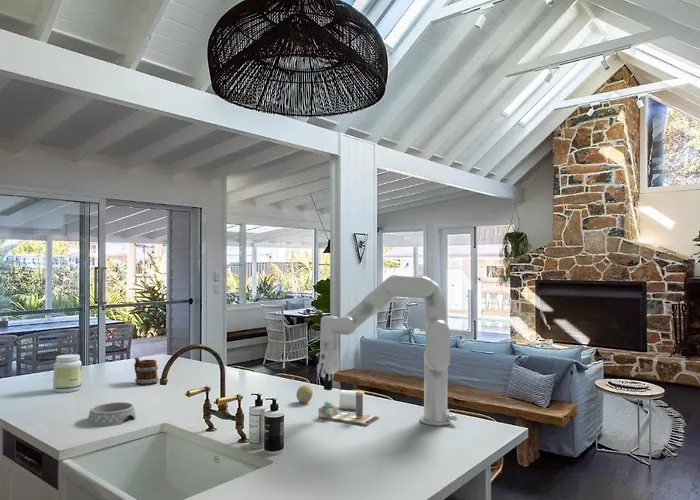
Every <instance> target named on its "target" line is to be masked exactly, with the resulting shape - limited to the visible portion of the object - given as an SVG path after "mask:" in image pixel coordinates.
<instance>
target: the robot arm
mask: <svg viewBox="0 0 700 500" xmlns="http://www.w3.org/2000/svg"><path fill="white" fill-rule="evenodd" d="M398 297H399V298H414V299H415V298H416V299H423V302H424V309H425V310H424V311H425V313H424V314H425V317H424V318H425V319H424V320H425V321H424V322H425V325H424V334H425V349H424V353H423V369H424V371H423V372H424V374H423V375H424V378H423V379H424V382H423V385H424V386H423V388H424V389H423V415H421V416H420V417H419V421H420V422H421V423H423V424H424V425H429V426H436V427H437V426H446V425H450V424H451V423H452V421H458V416H457V414H454V413H453V414H452V413H450V410H449V409H448V384H449V383H448V379H449V377H448V376H449V375H448V371H449V370H448V367H449V365H450V364H451V331H450V327H449V325H448V324H447V307H446V306H447V305H446V299H445V294H444V292H443V290H442V288H441V287H440V285H439V284H438V283H436V281H434V280H432V279H431V278H430V277H427V276H424V275H423V276H422V275H421V276H410V275H409V276H407V275H406V276H405V275H397V274H394V275H393V274H392V275H390V276H388V277H387V278H386V279H385V280H383V282H381V283H380V284H379V285H378V286H377V287H376V288H375V289H373V290H371V291H370V293H368V294H367V295H366V296H364V298H363V299H362V300H361V301H360V302H358V304H357V305H356V306H355V307H353V308H352V309H351V310H349V312H348V313H346V314H345V315H344V316H342V317H338V316H336V315H323V316H321V319H320V342H319V344H320V345H319V346H320V347H319V350H320V352H319V357H318V359H319V360H318V372H319V374H320V377H321V378H322V380H323V390H326V391H333V379H334V375H335V374H336V373H338V372H339V370H340V353H339V335H345V336H350V335H353V334H354V333H355V332H356V330H357V329H358V328H359V327H361V325H362V324H364V323H365V322H366V321H367V320H369V319H370V318H371V317H373V316H374V315H377V314H378V313H380V312H381V311H382V310H384V309H385V308H386V307H387V306H388V305H389V304H390V303H391V302H393V301H394V300H395V299H396V298H398Z"/></svg>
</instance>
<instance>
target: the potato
mask: <svg viewBox="0 0 700 500" xmlns="http://www.w3.org/2000/svg"><path fill="white" fill-rule="evenodd" d="M313 394H314V391H313V389H312V387H311V386H310V385H307V384H306V385H305V384H304V385H301V386H299V387H298V389H297V391H296V395H295V396H296V399H297V400H298V402H299V403H301V404H307V403H309V402H310V401H311V399H312V397H313V396H314V395H313Z"/></svg>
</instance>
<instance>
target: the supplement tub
mask: <svg viewBox="0 0 700 500" xmlns="http://www.w3.org/2000/svg"><path fill="white" fill-rule="evenodd" d="M80 355H81V354H73V353H72V354H68V353H67V354H60V355H57V356H56V357H55V362H54V363H53V380H52V381H53V382H52V383H53V387H52V390H53V392H55V393H59V394H60V393H62V394H63V393H72V392H76V391H77V392H78V391H79V390H81V388H82V369H83V368H82V361H81V356H80Z"/></svg>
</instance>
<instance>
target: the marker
mask: <svg viewBox="0 0 700 500" xmlns="http://www.w3.org/2000/svg"><path fill="white" fill-rule="evenodd" d="M363 392H364V391H363ZM363 392H356V410H355V413H356V418H357V419H362V416H363V414H364V408H363Z"/></svg>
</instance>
